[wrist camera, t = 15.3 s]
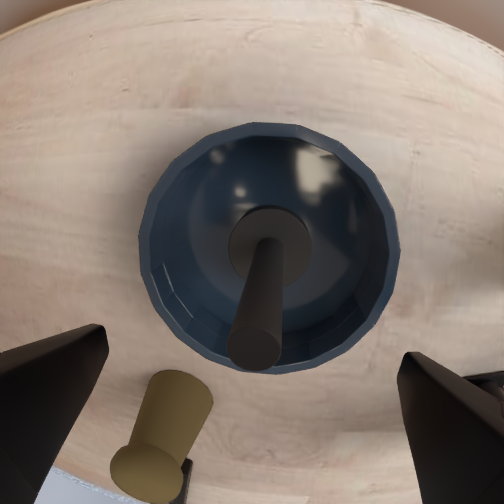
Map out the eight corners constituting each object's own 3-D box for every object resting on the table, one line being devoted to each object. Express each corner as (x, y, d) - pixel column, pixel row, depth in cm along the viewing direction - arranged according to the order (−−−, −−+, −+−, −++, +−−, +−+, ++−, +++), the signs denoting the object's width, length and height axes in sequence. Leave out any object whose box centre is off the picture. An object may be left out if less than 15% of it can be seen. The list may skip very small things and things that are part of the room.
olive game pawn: (146, 363, 25) (88, 455, 14) (215, 378, 24) (180, 486, 14) (150, 410, 27) (107, 496, 16) (211, 424, 26) (184, 520, 16)
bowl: (386, 143, 18) (412, 139, 14) (358, 341, 22) (371, 377, 18) (167, 130, 19) (137, 124, 15) (170, 326, 23) (149, 359, 19)
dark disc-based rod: (313, 208, 19) (355, 275, 8) (305, 283, 21) (324, 415, 9) (233, 202, 20) (165, 260, 8) (230, 277, 21) (175, 399, 10)
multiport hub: (193, 460, 28) (188, 475, 26) (185, 507, 33) (181, 519, 30) (154, 448, 28) (148, 463, 26) (155, 498, 33) (150, 510, 31)
